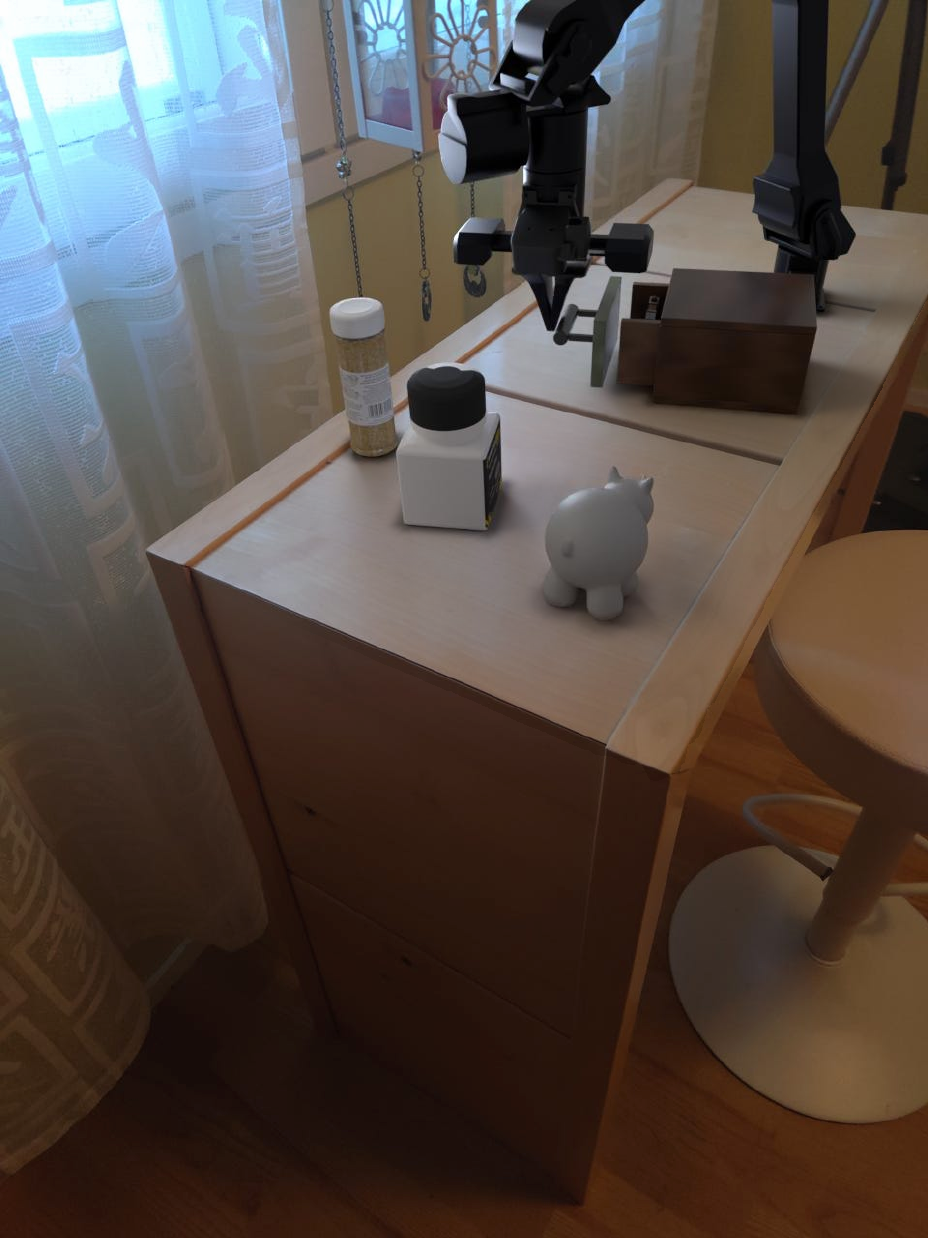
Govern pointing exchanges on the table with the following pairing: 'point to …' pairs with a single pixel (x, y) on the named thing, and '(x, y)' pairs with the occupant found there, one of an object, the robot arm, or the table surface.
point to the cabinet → (735, 340)
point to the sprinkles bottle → (365, 374)
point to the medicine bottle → (449, 450)
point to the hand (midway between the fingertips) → (551, 329)
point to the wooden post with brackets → (652, 308)
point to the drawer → (634, 333)
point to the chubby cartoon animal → (598, 544)
